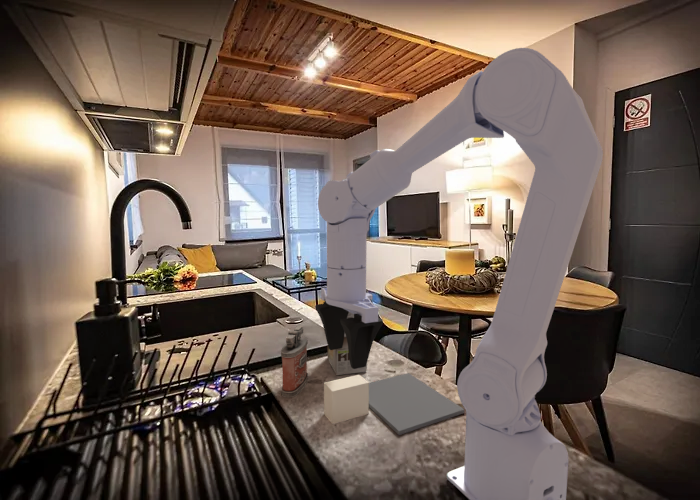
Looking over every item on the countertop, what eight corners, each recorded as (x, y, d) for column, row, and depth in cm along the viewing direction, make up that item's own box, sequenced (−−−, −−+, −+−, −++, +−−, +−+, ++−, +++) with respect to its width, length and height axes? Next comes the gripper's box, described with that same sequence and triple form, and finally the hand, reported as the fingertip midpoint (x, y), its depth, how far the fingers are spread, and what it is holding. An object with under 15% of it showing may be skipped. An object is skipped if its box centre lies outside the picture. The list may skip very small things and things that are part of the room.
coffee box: (368, 372, 68) (369, 289, 66) (335, 376, 66) (335, 291, 65) (355, 354, 77) (355, 281, 75) (326, 357, 75) (325, 282, 73)
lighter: (296, 398, 58) (295, 338, 57) (277, 396, 59) (276, 337, 58) (311, 376, 66) (311, 324, 65) (294, 374, 67) (293, 322, 66)
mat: (464, 413, 54) (464, 409, 54) (398, 435, 48) (399, 431, 48) (408, 376, 66) (408, 373, 66) (351, 390, 61) (351, 387, 61)
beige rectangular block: (368, 414, 54) (368, 382, 53) (332, 424, 51) (332, 391, 50) (359, 404, 56) (359, 374, 56) (324, 414, 54) (324, 382, 53)
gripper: (398, 271, 47) (396, 370, 48) (348, 259, 60) (348, 337, 61) (351, 275, 44) (350, 381, 45) (309, 261, 56) (309, 344, 58)
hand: (346, 357), depth 53 cm, fingers open, 7 cm apart
